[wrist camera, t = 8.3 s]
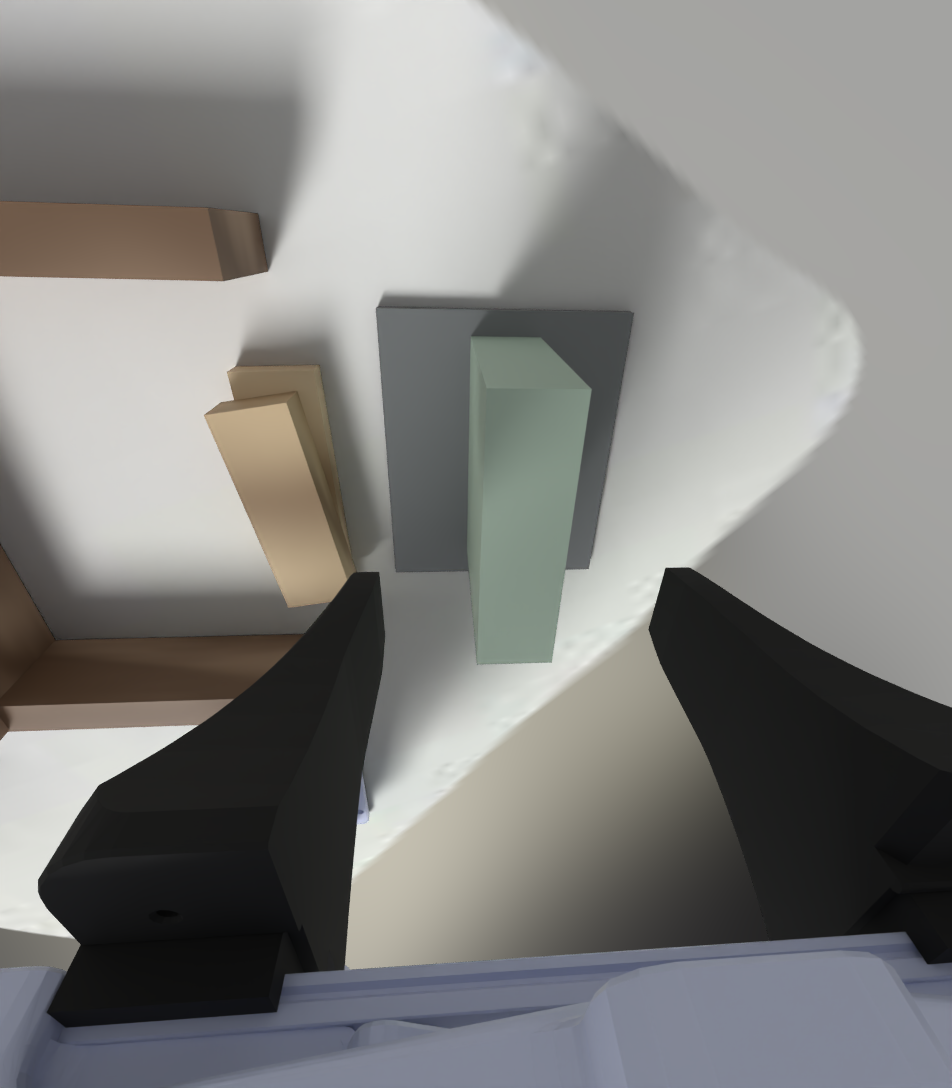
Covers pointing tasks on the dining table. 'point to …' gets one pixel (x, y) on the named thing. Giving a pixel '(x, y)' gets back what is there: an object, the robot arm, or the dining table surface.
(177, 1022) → the robot arm
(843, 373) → the dining table surface
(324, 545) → the offcut upper
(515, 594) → the board
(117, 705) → the frame
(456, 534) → the mat
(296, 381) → the offcut lower
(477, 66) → the dining table surface
